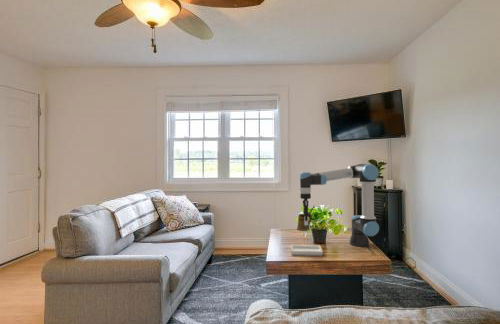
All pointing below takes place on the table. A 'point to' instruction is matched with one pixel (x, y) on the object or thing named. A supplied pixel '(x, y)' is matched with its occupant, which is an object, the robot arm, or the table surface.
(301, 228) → the wooden mug
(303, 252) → the tray
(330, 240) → the table surface
